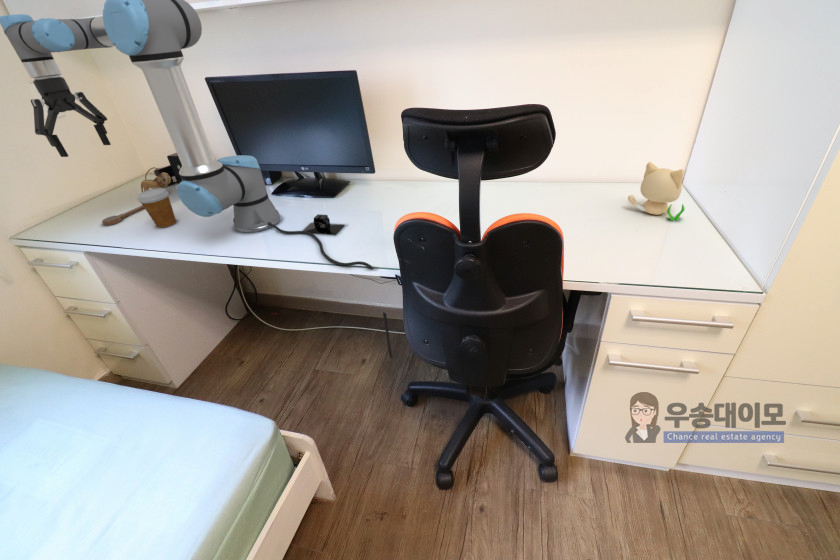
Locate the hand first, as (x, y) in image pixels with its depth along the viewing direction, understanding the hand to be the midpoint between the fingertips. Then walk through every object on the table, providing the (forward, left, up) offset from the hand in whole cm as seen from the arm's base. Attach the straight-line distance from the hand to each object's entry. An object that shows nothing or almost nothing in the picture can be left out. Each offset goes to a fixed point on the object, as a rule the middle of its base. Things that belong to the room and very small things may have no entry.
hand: (87, 150), depth 127 cm
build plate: (-75, -14, -28) cm, 81 cm away
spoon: (+10, -10, -27) cm, 31 cm away
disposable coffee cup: (-14, -5, -28) cm, 31 cm away
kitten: (-175, -47, -28) cm, 183 cm away
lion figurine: (+17, -28, -28) cm, 43 cm away
